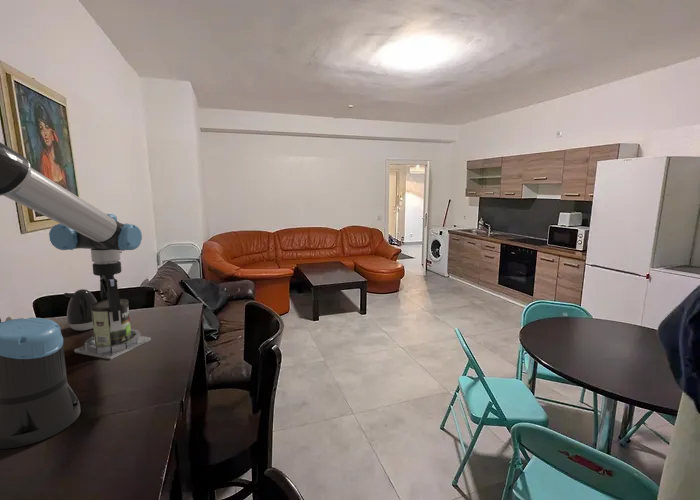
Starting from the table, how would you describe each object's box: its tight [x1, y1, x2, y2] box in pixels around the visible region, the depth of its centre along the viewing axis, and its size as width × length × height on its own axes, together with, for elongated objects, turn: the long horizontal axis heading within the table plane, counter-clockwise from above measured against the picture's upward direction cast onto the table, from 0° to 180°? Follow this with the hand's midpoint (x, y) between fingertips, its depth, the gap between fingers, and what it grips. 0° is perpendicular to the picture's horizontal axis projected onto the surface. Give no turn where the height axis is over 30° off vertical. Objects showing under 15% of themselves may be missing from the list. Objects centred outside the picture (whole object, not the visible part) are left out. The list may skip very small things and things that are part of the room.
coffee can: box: [91, 298, 132, 346], centre depth 112 cm, size 10×10×14 cm
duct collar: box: [74, 328, 152, 360], centre depth 114 cm, size 15×15×3 cm
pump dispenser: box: [63, 288, 98, 332], centre depth 127 cm, size 10×10×15 cm
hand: (112, 324), depth 112 cm, fingers open, 13 cm apart
